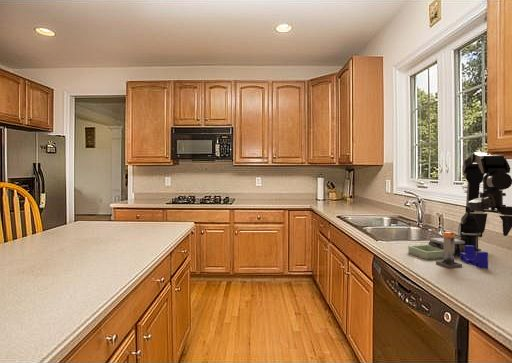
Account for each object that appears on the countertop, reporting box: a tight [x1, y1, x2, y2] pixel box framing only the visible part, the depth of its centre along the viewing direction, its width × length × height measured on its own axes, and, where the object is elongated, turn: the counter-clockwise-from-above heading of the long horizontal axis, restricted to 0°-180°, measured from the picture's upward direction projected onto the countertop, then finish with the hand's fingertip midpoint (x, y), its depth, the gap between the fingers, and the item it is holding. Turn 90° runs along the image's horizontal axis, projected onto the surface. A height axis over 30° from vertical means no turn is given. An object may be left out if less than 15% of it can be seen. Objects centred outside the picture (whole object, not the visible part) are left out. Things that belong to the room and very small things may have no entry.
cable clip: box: [459, 245, 489, 269], centre depth 129 cm, size 12×4×6 cm, turn 170°
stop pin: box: [443, 231, 456, 265], centre depth 127 cm, size 4×4×12 cm
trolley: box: [427, 237, 465, 256], centre depth 145 cm, size 13×12×6 cm
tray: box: [407, 244, 444, 261], centre depth 142 cm, size 9×12×3 cm
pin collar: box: [435, 260, 463, 269], centre depth 127 cm, size 6×6×1 cm
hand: (493, 234), depth 119 cm, fingers open, 9 cm apart
